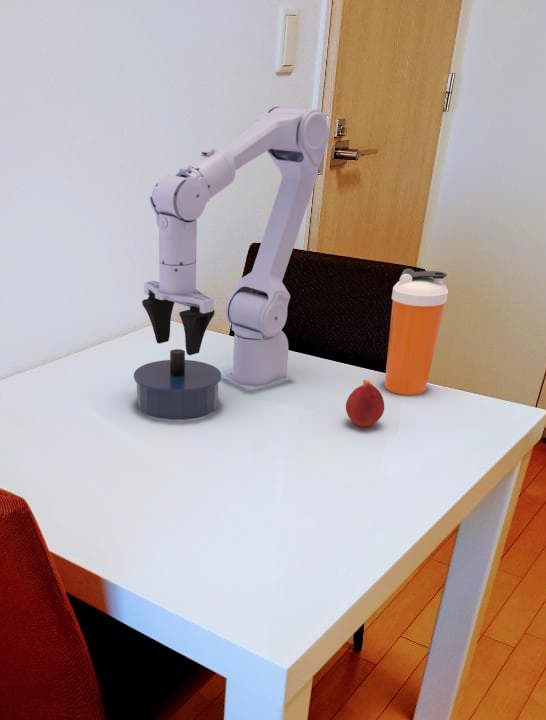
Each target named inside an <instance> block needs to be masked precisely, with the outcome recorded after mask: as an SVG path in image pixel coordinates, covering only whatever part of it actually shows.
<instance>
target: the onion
mask: <svg viewBox="0 0 546 720" xmlns="http://www.w3.org/2000/svg"><path fill="white" fill-rule="evenodd" d="M345 411H346V415H347V417H348V418H349V419H350V420H351V421H352V423H353V424H355V425H356V426H357V427H359V428H368V427H370V426H372V425H374V424H375V423H377V422H378V421H379V420H380V419H381V418H382V416H383V415H384V412H385V401H384V397H383V395H382V393H381V392H380V390H379V389H378V388H377V387H375V386H374V385H373V384H372V383H371V382H370V380H368V379H364V380H363V383H362V385H360V386H358V387H356V388H355V389H353V391H352V392H351V393H350V394H349V395H348V397H347V399H346V403H345Z"/></svg>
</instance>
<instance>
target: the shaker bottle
mask: <svg viewBox="0 0 546 720" xmlns="http://www.w3.org/2000/svg"><path fill="white" fill-rule="evenodd" d="M447 275H448V274H447V273H445V272H443V271H436V270H422V271H421V270H420V271H414V270H413V269H412V268H406V269H404V270H403V271H402V272H401V275H400V277H399V281H397V282H396V283H395V284H394V285H393V287H392V293H391V300H392V303H391V304H392V305H391V314H390V323H389V324H390V325H389V335H388V345H387V346H388V347H387V354H386V355H387V357H386V366H385V367H386V368H385V377H384V388H385V389H386V390H387V391H388V392H391V393H394V394H396V395H404V396H415V395H420V394H423V393H424V392H425V391H426V389H427V386H428V385H427V384H428V381H429V375H430V372H431V367H432V362H433V358H434V354H435V349H436V345H437V340H438V336H439V331H440V327H441V322H442V318H443V314H444V310H445V305H446V304H447V303H448V296H449V290H448V288H447V285H446V284H445V282H444V279H445V277H447Z"/></svg>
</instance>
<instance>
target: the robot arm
mask: <svg viewBox="0 0 546 720" xmlns="http://www.w3.org/2000/svg"><path fill="white" fill-rule="evenodd" d="M330 136H331V133H330V129H329V125H328V121H327V118H326V116H325V114H324V112H322V110H320V109H317V108H312V109H301V108H287V107H286V108H285V107H280V106H271V107H269V108H268V109H267V110H266V111H265V112H262V113H259V114H258V116H257V119H256V122H255V123H253V124H252V125H251V126H250V127H249V128H247V129H246V130H245V131H243V133H242V134H240V135H239V136H238V137H237V138H236V139H235V140H233V141H232V142H230V143H229V144H228V145H227V146H226V147H225V148H224V149H222V148H219V147H205V148H204V149H202V150H201V151H200V152H201V156H199V157H197V158H196V159H195V160H193V161H192V162H191V163H189V164H187V165H185V164H184V165H182V166H181V167H179V169H178V170H179V171H178V172H177V173H176V174H174V175H172V174H171V175H170V174H166V175H163V176H162V177H161V178H160V179H158V181H157V182H156V183H155V185H154V187H153V190H152V193H151V194H152V195H150V196H149V203H150V206H151V209H152V211H153V212H154V214H155V219H156V225H157V227H158V269H159V270H158V276H159V279H158V280H159V281H157V280H151V281H145V282H143V290H144V292H143V293H144V295H145V296H148V297H147V298H145V299H142V301H141V304H142V306H143V308H144V309H145V311H146V314H147V315H148V317H149V321H150V323H151V326H152V330H153V334H154V337H155V338H154V339H155V342H156V344H163V343H168V342H170V338H171V337H170V336H171V335H170V334H171V323H172V321H171V319H172V314H173V309H174V305H175V303H176V304H179V305H182V306H184V307H188V308H189V309H185V310H182V311H179V312H178V315H179V317H180V320H181V322H182V325H183V331H184V337H185V338H184V339H185V341H184V342H185V353H186V355H187V356H193V355H197V354H199V353H200V351H201V346H202V343H203V339H204V337H205V333H206V331H207V328H208V326H209V324H210V322H211V321H212V318H213V317H214V316H215V309H214V298H213V297H210V296H208V295H206V294H204V293H203V292H201V291H200V290H199V289H197V238H198V237H197V234H198V233H197V231H198V229H197V227H198V218H200V217H201V216H202V214H203V213H204V210H205V208H206V205H207V203H208V202H210V200H211V199H212V198H213V197H215V196H216V195H218V194H219V193H221V192H222V191H223V190H224V189H226V188H227V187H228V186H230V185H231V184H232V183H233V182H234V180H235V177H236V171H238V170H239V169H240V168H242V167H243V166H245V165H246V164H248V163H250V162H251V161H253V160H255V159H257V158H258V157H259V156H262V155H263V154H264V153H267V154H268V155H269V158H270V159H271V160H272V162H273V163H274V165H275V166H276V167H277V168H278V169H279V172H280V174H281V181H280V183H279V187H278V190H277V193H276V196H275V199H274V201H273V206H272V209H271V211H270V215H269V218H268V219H267V220H268V221H267V223H266V227H265V230H264V233H263V236H262V239H261V242H260V245H259V248H258V252H257V255H256V258H255V260H254V263H253V267H252V269H251V271H250V272H249V273H247V274H245V275H244V276H243V277H241V278H240V279H239V280H238V281H237V283H236V286H235V289H234V291H233V292H232V293H231V295H230V296H229V297H228V300H227V302H226V305H225V317H226V320H227V321H228V323H229V324H231V331H233V332H234V337H233V338H234V339H233V340H234V341H233V360H232V361H233V362H232V373H231V374H226V375H223V376H222V379H226V380H227V381H230V382H231V383H234V384H236V385H238V386H240V387H242V388H245V389H246V390H255V389H259V388H262V387H265V386H269V385H273V384H277V383H280V382H285V381H288V380H290V377H288V376H287V370H288V360H289V340H288V337H287V335H286V334H285V332H284V331H283V328H284V327H285V325H286V322H287V318H288V306H289V302H290V299H291V294H290V292H289V291H288V289H287V288H286V286H285V284H284V283H283V279H284V277H285V273H286V271H287V268H288V264H289V262H290V259H291V256H292V252H293V251H294V247H295V245H296V241H297V238H298V235H299V232H300V230H301V225H302V224H303V220H304V218H305V215H306V212H307V208H308V206H309V203H310V200H311V196H312V194H313V191H314V187H315V185H316V181H317V180H318V179H317V178H318V176H319V170H320V166H321V163H322V160H323V157H324V155H325V152H326V148H327V145H328V143H329V139H330ZM260 293H261V294H260ZM262 294H265V295H262ZM266 295H267V296H266Z"/></svg>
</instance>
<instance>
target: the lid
mask: <svg viewBox="0 0 546 720" xmlns="http://www.w3.org/2000/svg"><path fill="white" fill-rule="evenodd" d="M133 379H134V381H135V383H136V384H137V383H138V384H139V385H140V386H142V387H145V388H147V389H151V390H155V391H160V392H169V393H185V392H195V391H200V390H204V389H208V388H210V387H213V386H215V385H216V384H218V385H219V383H220V382H221V380H222V373H221V371H220V369H219V368H217V367H216V366H215V365H211V364H209V363H206V362H202V361H197V360H193V359H192V360H191V359H186V350H184V349H182V348H181V349H180V348H175V349H170V351H169V359H163V360H157V361H152V362H149V363H145V364H143V365H141V366H139V367H138V368H136V369H135V370H134V373H133Z"/></svg>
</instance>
